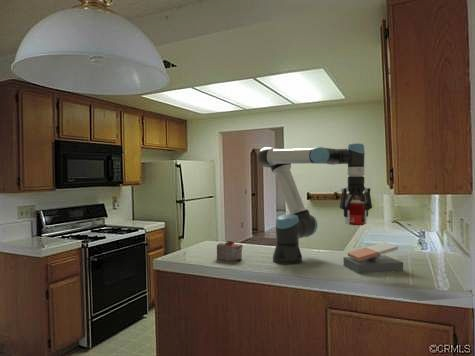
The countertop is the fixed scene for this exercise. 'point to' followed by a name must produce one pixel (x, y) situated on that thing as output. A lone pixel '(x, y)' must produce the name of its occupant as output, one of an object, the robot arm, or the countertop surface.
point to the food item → (229, 251)
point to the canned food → (357, 213)
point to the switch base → (373, 264)
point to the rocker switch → (372, 251)
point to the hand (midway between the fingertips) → (355, 223)
